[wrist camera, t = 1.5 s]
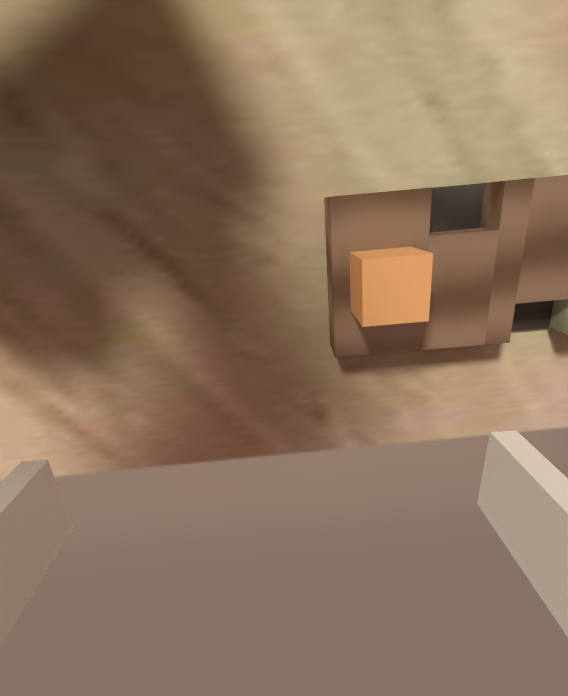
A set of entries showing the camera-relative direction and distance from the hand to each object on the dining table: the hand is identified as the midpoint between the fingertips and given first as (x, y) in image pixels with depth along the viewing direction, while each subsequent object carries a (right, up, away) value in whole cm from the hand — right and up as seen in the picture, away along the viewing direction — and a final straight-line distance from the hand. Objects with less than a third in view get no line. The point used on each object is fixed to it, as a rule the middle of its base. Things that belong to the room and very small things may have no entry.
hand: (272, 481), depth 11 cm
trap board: (+17, +11, +19) cm, 27 cm away
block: (+7, +9, +16) cm, 20 cm away
